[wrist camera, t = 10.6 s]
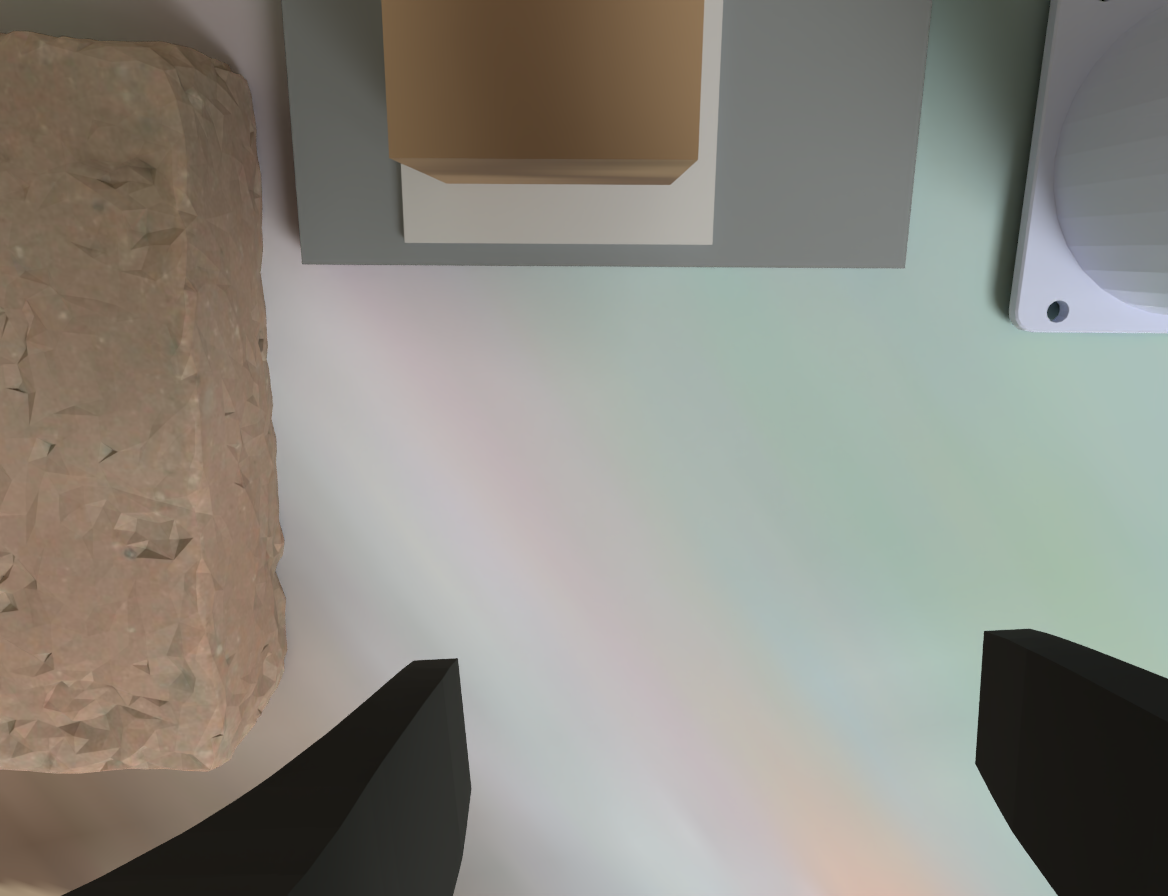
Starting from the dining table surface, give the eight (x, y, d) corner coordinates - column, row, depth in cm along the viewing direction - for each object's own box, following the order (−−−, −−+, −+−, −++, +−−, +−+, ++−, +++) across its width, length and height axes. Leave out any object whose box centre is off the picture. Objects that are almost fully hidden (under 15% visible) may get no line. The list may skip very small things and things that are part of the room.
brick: (-80, 51, 19) (-297, -11, 14) (269, 68, 19) (163, 11, 14) (13, 671, 23) (-132, 776, 18) (299, 685, 23) (224, 795, 18)
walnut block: (677, -69, 16) (713, -204, 11) (670, 185, 18) (698, 160, 13) (438, -69, 16) (370, -203, 12) (446, 183, 18) (389, 158, 13)
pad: (725, -102, 16) (728, -108, 16) (710, 244, 18) (712, 244, 18) (391, -102, 17) (387, -108, 16) (407, 242, 18) (404, 242, 18)
